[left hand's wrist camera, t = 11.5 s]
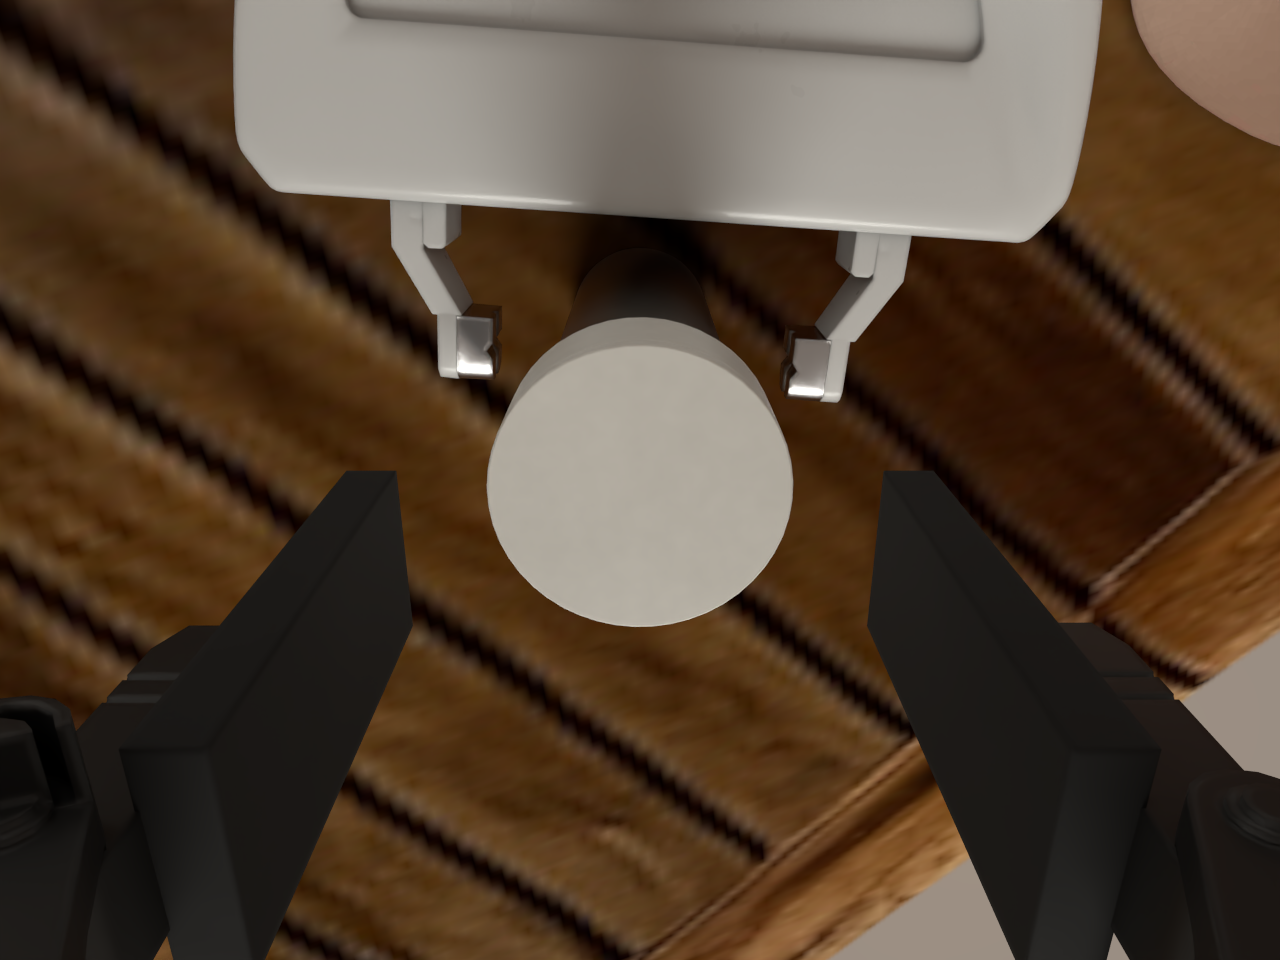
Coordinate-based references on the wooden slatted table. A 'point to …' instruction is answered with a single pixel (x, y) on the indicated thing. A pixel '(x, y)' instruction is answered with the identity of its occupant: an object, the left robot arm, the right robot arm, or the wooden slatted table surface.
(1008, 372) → the wooden slatted table surface
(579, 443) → the lid
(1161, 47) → the anatomical model
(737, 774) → the wooden slatted table surface
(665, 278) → the metal cylinder
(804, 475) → the wooden slatted table surface
